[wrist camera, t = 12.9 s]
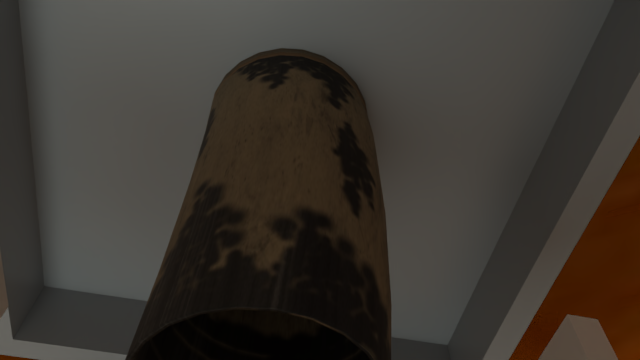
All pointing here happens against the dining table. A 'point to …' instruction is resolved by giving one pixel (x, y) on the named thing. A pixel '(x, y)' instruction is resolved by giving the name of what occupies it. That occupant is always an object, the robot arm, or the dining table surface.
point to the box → (389, 136)
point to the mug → (277, 226)
